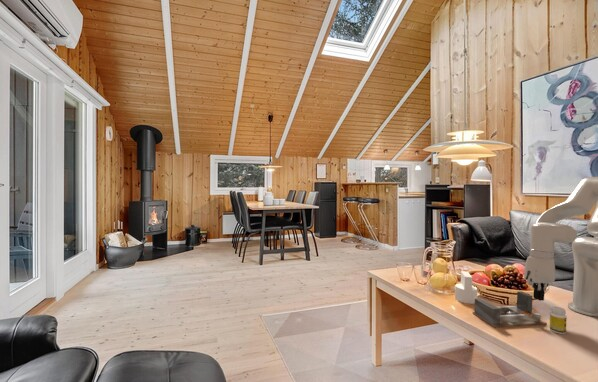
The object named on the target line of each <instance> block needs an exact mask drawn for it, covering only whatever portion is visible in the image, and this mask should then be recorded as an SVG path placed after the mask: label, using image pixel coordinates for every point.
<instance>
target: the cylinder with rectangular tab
mask: <svg viewBox="0 0 598 382" xmlns="http://www.w3.org/2000/svg"><path fill="white" fill-rule="evenodd" d="M474 286H475V285H473V276H472V275H471V274H470V272H469V271H463V270H461V271H460V283H456V284H455V285H454V287H455V288H454V299H455V300H456V301H458V302H460V303H464V304H469V305H470V304H475V299H478V288H477V287H476V286H475V287H474Z"/></svg>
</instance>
